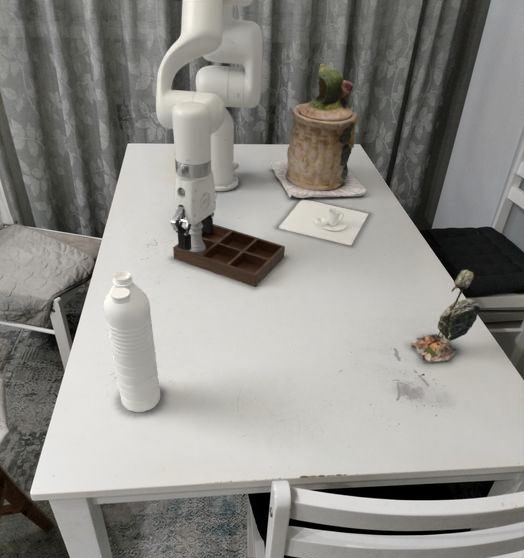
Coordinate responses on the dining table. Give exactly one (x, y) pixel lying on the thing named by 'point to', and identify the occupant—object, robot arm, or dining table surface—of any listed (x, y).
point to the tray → (234, 255)
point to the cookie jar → (321, 143)
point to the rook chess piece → (197, 239)
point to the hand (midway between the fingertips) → (196, 239)
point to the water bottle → (132, 343)
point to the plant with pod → (450, 324)
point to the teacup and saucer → (324, 221)
